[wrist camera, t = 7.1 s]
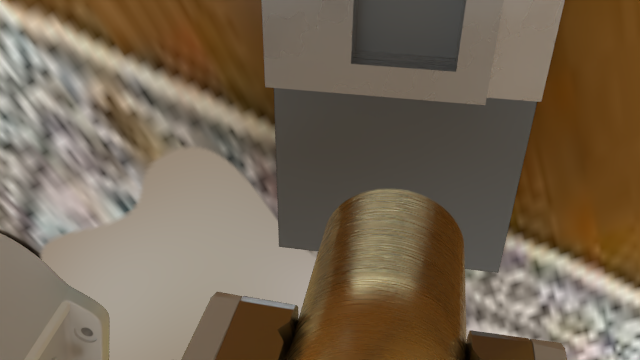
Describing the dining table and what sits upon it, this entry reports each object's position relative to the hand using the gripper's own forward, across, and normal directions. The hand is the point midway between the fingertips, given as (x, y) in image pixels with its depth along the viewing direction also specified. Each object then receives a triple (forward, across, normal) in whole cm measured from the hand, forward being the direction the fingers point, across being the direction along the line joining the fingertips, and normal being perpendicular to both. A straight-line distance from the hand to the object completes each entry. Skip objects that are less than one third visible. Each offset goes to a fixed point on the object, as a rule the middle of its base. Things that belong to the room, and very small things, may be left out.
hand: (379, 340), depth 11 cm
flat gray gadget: (+18, +1, -1) cm, 18 cm away
